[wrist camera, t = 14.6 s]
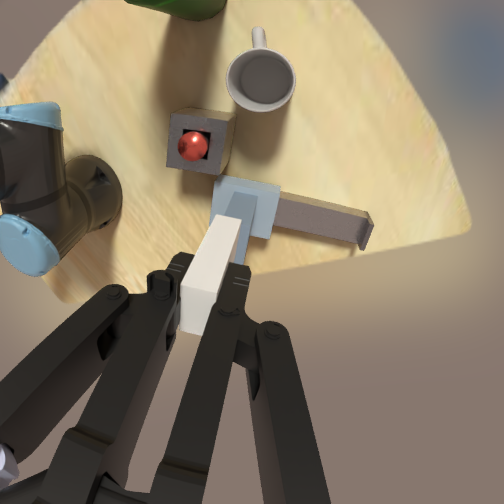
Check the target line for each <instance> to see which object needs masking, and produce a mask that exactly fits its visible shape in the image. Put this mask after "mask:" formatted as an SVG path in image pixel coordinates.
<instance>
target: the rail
mask: <svg viewBox="0 0 504 504" xmlns="http://www.w3.org/2000/svg"><path fill="white" fill-rule="evenodd" d="M273 225H275V226H280V227H284V228H289V229H294V230H298V231H303V232H308V233H312V234H317V235H321V236H326V237H330V238H335V239H339V240H344V241H348V242H352V243H357V244H358V246H359V249H360V250H363V251H364V250H365V247H366V245H367V242H368V240H369V237H370V235H371V232H372V230H373V227H374V223H373V221H372V220H371V218H370V216H369V214H368V212H366V211H362V210H358V209H354V208H350V207H346V206H342V205H338V204H334V203H330V202H326V201H321V200H317V199H313V198H309V197H304V196H300V195H295V194H291V193H286V192H282V191H280V197H279V201H278V205H277V209H276V214H275V218H274V222H273Z"/></svg>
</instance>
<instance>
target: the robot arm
mask: <svg viewBox="0 0 504 504" xmlns="http://www.w3.org/2000/svg"><path fill="white" fill-rule="evenodd" d="M63 131H64V129H63V127H62V121H61V110H60V107H59V106H58V104H56V103H54V102H40V103H29V104H20V105H13V106H5V107H0V203H1V208H2V213H3V215H0V250H1V253H3V255H4V257H5V258H6V259H7V260H8V261H9V263H11V264H12V265H13V266H14V267H15V268H16V269H17V270H19V271H20V272H22V273H24V274H27V275H29V276H34V277H38V276H42V275H44V274H46V273H47V272H48V271H49V270H50V269H52V268H53V267H54V266H56V265H57V264H58V263H59V262H60V260H61V259H62V258H63V257H64V256H65V255H66V254H67V253H68V252H69V251H70V250H71V249H72V247H73V246H74V245H75V244H76V243H77V242H78V241H79V240H80V239H81V238H82V237H83V236H84V235H85V234H86V233H89V232H92V231H95V230H98V229H101V228H103V227H105V226H107V225H108V224H109V223H110V222H111V221H112V220H113V219H114V218H115V217H116V216H117V214H118V213H119V211H120V208H121V204H122V190H121V186H120V183H119V180H118V178H117V176H116V174H115V172H114V171H113V170H112V168H111V167H110V166H109V165H108V164H107V163H106V162H104V161H103V160H101V159H100V158H98V157H95V156H91V155H82V156H78V157H76V158H74V159H72V160H71V161H69V162H68V163H66V164H65V159H64V147H63ZM241 221H242V220H241V219H236V218H232V217H227V216H222V215H217V214H216V216H215V217H214V219H213V221H212V223H211V225H210V227H209V229H208V231H207V233H206V235H205V237H204V239H203V241H202V243H201V245H200V246H199V248H198V250H197V252H196V254H195V255H193V254H189V253H184V252H180V253H178V254H176V255H175V256H174V257H173V258H172V260H171V262H170V264H169V265H168V267H167V269H166V270H156V271H153V272H151V273H149V274H148V275H147V293H143V294H129V292H128V290H127V289H126V288H125V287H124V286H122V285H119V284H111V285H107V286H105V287H104V288H102V289H101V290H100V291H99V292H97V293H96V294H95V295H94V296H93V297H92V298H90V299H89V300H88V301H87V302H86V303H85V304H83V305H82V306H81V307H80V308H79V309H78V310H77V311H75V312H74V313H73V314H72V315H71V316H70V317H69V318H67V319H66V320H65V321H64V322H63V323H62V324H61V325H60V326H58V327H57V328H56V329H55V330H54V331H53V332H52V333H51V334H50V335H49V336H47V337H46V338H45V339H44V340H43V341H42V342H41V343H40V344H39V345H38V346H37V347H36V348H35V349H33V350H32V351H31V352H30V353H29V354H28V355H27V356H26V357H25V358H24V359H23V360H22V361H21V362H20V363H19V364H18V365H17V366H16V367H15V368H14V369H13V370H12V371H11V372H10V373H9V374H8V375H7V376H6V377H5V378H4V379H3V380H2V381H1V382H0V504H202V499H203V494H204V490H205V486H206V481H207V477H208V472H209V467H210V463H211V457H212V453H213V449H214V445H215V440H216V435H217V431H218V426H219V422H220V417H221V413H222V408H223V404H224V399H225V394H226V390H227V385H228V381H229V376H230V372H231V367H232V362H235V363H237V364H239V365H241V366H242V367H245V368H246V377H247V385H248V393H249V400H250V408H251V416H252V423H253V431H254V438H255V445H256V452H257V459H258V466H259V473H260V480H261V487H262V493H263V500H264V504H331V501H330V497H329V493H328V488H327V485H326V480H325V476H324V472H323V467H322V464H321V459H320V456H319V451H318V447H317V443H316V439H315V435H314V431H313V427H312V422H311V418H310V414H309V410H308V406H307V402H306V399H305V395H304V391H303V387H302V383H301V379H300V375H299V371H298V367H297V363H296V359H295V356H294V352H293V348H292V344H291V340H290V336H289V333H288V331H287V329H286V328H285V327H284V326H283V325H282V324H280V323H278V322H274V321H265V322H263V323H261V324H259V323H257V322H255V321H253V320H251V319H250V318H249V317H248V316H247V314H246V313H245V310H244V307H245V302H246V297H247V292H248V287H249V282H250V278H251V271H250V268H249V266H245V265H241V264H236V263H234V259H235V254H236V248H237V243H238V237H239V232H240V227H241ZM178 325H179V330H181V331H185V332H189V333H193V334H197V335H201V336H202V338H201V341H200V344H199V347H198V350H197V353H196V356H195V359H194V362H193V365H192V368H191V371H190V374H189V378H188V381H187V384H186V387H185V390H184V393H183V396H182V399H181V403H180V406H179V409H178V412H177V415H176V419H175V422H174V425H173V428H172V431H171V435H170V438H169V441H168V445H167V448H166V451H165V454H164V457H163V459H162V461H161V462H160V463H159V466H158V468H157V471H156V474H155V477H154V480H153V484H152V487H151V490H150V493H142V492H132V491H127V490H125V489H124V488H125V485H126V482H127V478H128V467H129V463H130V460H131V457H132V454H133V451H134V448H135V445H136V443H137V440H138V437H139V434H140V432H141V429H142V426H143V423H144V420H145V418H146V415H147V412H148V410H149V407H150V404H151V401H152V399H153V396H154V393H155V390H156V388H157V385H158V383H159V380H160V377H161V375H162V372H163V370H164V367H165V364H166V362H167V359H168V357H169V354H170V351H171V349H172V347H173V344H174V341H175V339H176V329H177V327H178ZM102 372H103V373H102ZM101 373H102V375H101ZM100 375H101V376H100ZM99 376H100V379H99V381H98V383H97V384H96V386H95V388H94V391H93V393H92V394H91V396H90V398H89V400H88V403H87V405H86V407H85V409H84V411H83V413H82V415H81V417H80V419H79V421H78V423H77V425H76V426H75V427H73V428H69V429H68V430H67V431H66V432H65V434H64V435H63V437H62V439H61V441H60V444H59V446H58V448H57V450H56V453H55V455H54V457H53V459H52V462H51V464H50V466H49V469H46V470H44V471H42V472H40V473H38V474H36V475H33V476H31V477H29V478H27V479H24V480H22V481H20V482H18V483H15V484H13V485H11V486H8V485H9V483H10V482H11V481H12V480H13V479H17V478H18V476H19V470H18V467H17V464H18V463H20V462H22V461H23V460H24V459H26V458H27V457H28V456H29V455H31V454H32V453H33V452H34V450H35V449H36V448H37V447H38V446H39V445H40V444H41V443H42V441H43V440H44V439H45V438H46V437H47V436H48V434H49V433H50V432H51V431H52V429H53V428H54V427H55V426H56V425H57V424H58V423H59V421H60V420H61V419H62V418H63V417H64V416H65V414H66V413H67V412H68V411H69V410H70V409H71V407H72V406H73V405H74V404H75V403H76V402H77V401H78V399H79V398H80V397H81V396H82V395H83V394H84V393H85V392H86V390H87V389H88V388H89V387H90V386H91V385H92V384H93V382H94V381H95V380H96V379H97V378H98V377H99Z"/></svg>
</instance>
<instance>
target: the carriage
mask: <svg viewBox="0 0 504 504" xmlns="http://www.w3.org/2000/svg"><path fill="white" fill-rule="evenodd" d="M279 197H280V186H277V185H272V184H267V183H262V182H257V181H252V180H247V179H242V178H237V177H232V176H226V175H221V174H220V176H218V177H217V179H216V180H215V183H214V191H213V199H212V206H211V214H210V222H209V227H210V225H211V223H212V221H213V219H214V217H215V216H216V214H217V215H222V216H227V217H232V218H236V219H241V220H242V221H241V227H240V232H239V237H238V243H237V248H236V254H235V259H234V263H236V264H241V265H243V263H244V259H245V254H246V250H247V246H248V241H249V237H250V235H251V236H255V237H260V238H265V239H270V235H271V231H272V226H273V222H274V218H275V214H276V209H277V205H278V201H279Z"/></svg>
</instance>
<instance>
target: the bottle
mask: <svg viewBox="0 0 504 504" xmlns="http://www.w3.org/2000/svg"><path fill="white" fill-rule="evenodd" d="M124 1H126V2H127V3H129V4H133V5H137V6H141V7H145V8H149V9H153V10H157V11H160V12H164V13H167V14H171V15H174V16H177V17H180V18H183V19H188V20H194V21H201V20H205V19H208V18H212V17H213V16H215V15H216V14H217V13H218V12H219V11H220V10H222V9H223V7H224V5H225V2H226V0H124Z"/></svg>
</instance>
